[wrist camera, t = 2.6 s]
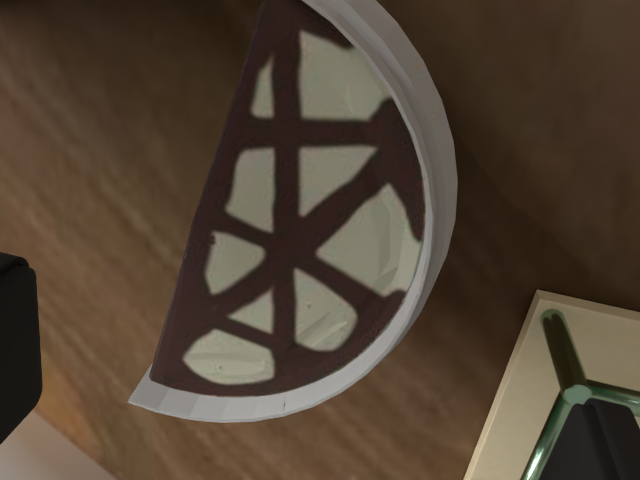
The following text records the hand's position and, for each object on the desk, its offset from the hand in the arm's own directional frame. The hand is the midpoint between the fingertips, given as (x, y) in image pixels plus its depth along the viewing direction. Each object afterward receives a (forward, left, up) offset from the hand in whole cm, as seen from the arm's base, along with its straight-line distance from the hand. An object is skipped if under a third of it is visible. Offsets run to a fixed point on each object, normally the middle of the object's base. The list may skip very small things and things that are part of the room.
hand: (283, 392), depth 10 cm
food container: (0, 0, -14) cm, 14 cm away
